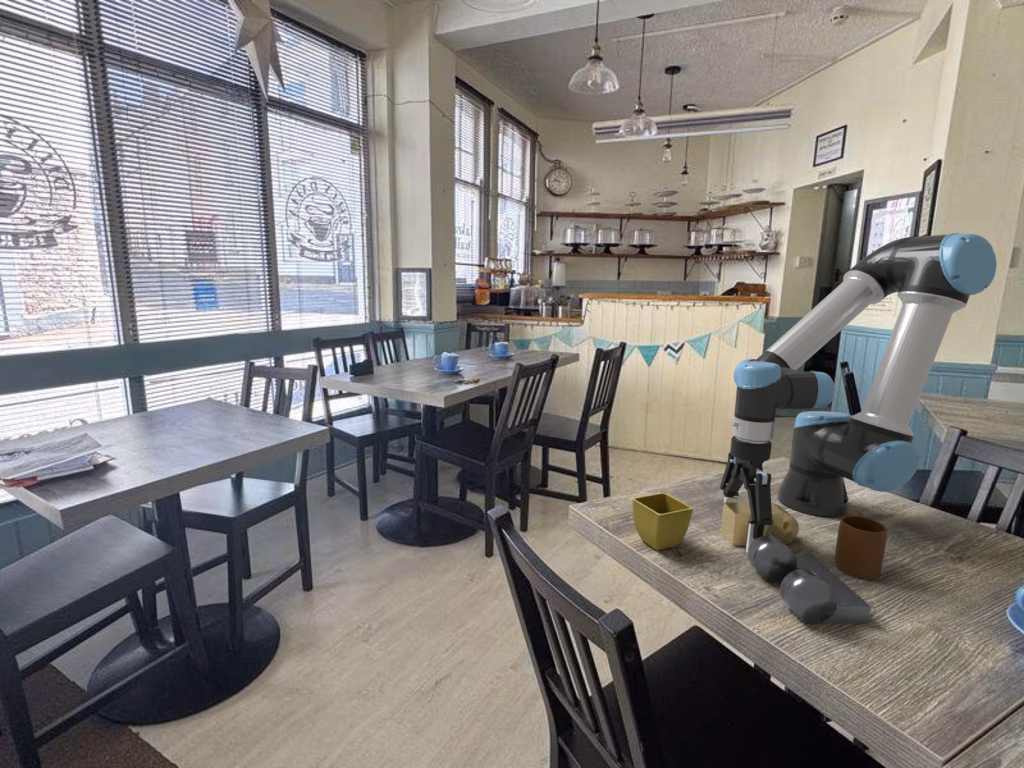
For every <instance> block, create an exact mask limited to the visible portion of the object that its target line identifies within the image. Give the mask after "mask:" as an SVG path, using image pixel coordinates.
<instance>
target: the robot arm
mask: <svg viewBox="0 0 1024 768" xmlns="http://www.w3.org/2000/svg"><path fill="white" fill-rule="evenodd" d="M993 248H994V247H993V246H992V245H991V243H990V242H989V241H988V240H987V238H985V237H983V236H981V235H979V234H975V233H958V232H954V233H949V234H939V235H938V234H937V235H926V236H925V235H924V236H922V235H921V236H906V237H902V238H899V239H898V238H897V239H895V240H892V241H890V242H888V243H886V244H883V245H882V246H880V247H879V248H877V249H875V250H873V251H872V252H871V253H869V254H868V255H866V256H865V257H864V258H862V259H861V260H860V261H858V262H857V263H855V264H854V266H853V267H851V268H849V270H848V271H847V272H846V273H845V274H844V275H843V278H842V282H841V283H840V284H839V285H838V286H836V288H835V289H833V290H832V291H831V292H830V293H829V294H828V295H826V297H825V298H823V299H822V300H821V301H820V302H819V303H818V304H817V305H816V306H814V307H813V308H812V309H811V310H810V311H809V312H808V313H807V314H805V315H804V316H803V317H802V318H801V319H800V320H799V321H797V323H795V324H794V325H793V326H792V327H791V328H789V330H788V331H786V332H785V333H784V334H783V335H782V336H780V338H779V339H778V340H776V341H775V342H774V343H773V344H772V345H770V347H768V348H766V350H765V351H764V352H763V353H762V354H761V355H759V356H758V357H757V358H747V359H744V360H742V361H740V362H739V363H738V364H737V365H736V367H735V368H734V370H733V381H734V383H735V386H736V393H735V403H734V414H733V421H732V422H731V426H732V431H731V433H732V435H733V436H732V437H731V441H730V450H729V452H728V454H727V455H728V457H727V462H726V466H725V469H724V472H723V476H722V479H721V482H720V485H719V488H720V490H721V491H722V493H723V496H724V498H723V503H724V502H727V503H739V498H738V497H740V494H739V491H740V489H741V488H742V487H744V490H746V491H747V497H748V503H749V504H750V510H751V516H752V520H751V521H749V529H748V538H747V546H745V547H746V549H745V552H746V553H747V554H748V549H749V546H750V545H751V543H752V542H753V541H754V540H756V539H757V538H759V537H761V536H763V533H764V526H765V525H772V506H771V503H772V493H771V483H772V473H765V472H764V470H763V463H766V461H769V460H770V458H771V454H772V451H771V450H772V446H773V443H772V442H771V441H772V440H773V439H774V430H775V422H776V414H777V410H808V411H802V412H800V413H798V414H797V416H796V418H795V422H794V426H793V432H792V440H791V441H792V442H791V448H790V449H791V450H790V458H789V468H788V470H787V472H786V473H785V476H784V478H783V480H782V482H781V484H780V485H779V487H778V490H777V500H778V501H779V502H780V503H781V504H782V505H783V506H786V507H788V508H789V509H792V510H794V511H798V512H801V513H804V514H808V515H813V516H819V517H839V516H840V517H841V516H845V515H846V514H847V513H848V512H849V505H850V504H849V503H850V501H849V496H848V493H847V488H846V483H845V479H848V480H849V481H852V482H854V483H855V484H857V485H858V486H861V487H865V488H868V489H870V490H872V491H876V492H882V493H883V492H892V491H895V490H897V489H898V488H900V487H903V486H904V485H906V484H907V483H908V482H909V481H910V480H911V479H912V477H913V476H914V475H915V474H916V472H917V470H918V466H919V463H920V457H919V456H918V455H919V453H918V451H919V450H917V448H916V447H915V446H914V445H913V444H912V441H913V439H914V436H915V433H914V432H913V430H912V428H911V427H910V423H911V420H912V417H913V416H914V415H913V414H914V413H915V411H916V408H917V405H918V403H919V400H920V397H921V395H922V392H923V389H924V388H925V384H926V382H927V380H928V377H929V374H930V372H931V369H932V367H933V364H934V362H935V359H936V357H937V354H938V351H939V349H940V346H941V343H942V341H943V340H944V336H945V334H946V331H947V329H948V328H949V324H950V321H951V318H952V316H953V315H954V313H955V312H958V311H960V310H962V309H964V308H966V306H967V304H968V301H969V299H970V297H971V296H974V295H977V294H979V293H982V292H983V291H985V289H988V288H989V287H990V286H991V284H992V282H993V280H994V278H995V276H996V273H997V264H998V263H997V257H996V253H995V251H994V249H993ZM894 293H895V294H896V293H897V295H896V296H897V297H898V299H899V300H900V301H901V304H902V305H901V308H900V311H899V312H898V313H899V314H898V315H897V319H896V322H895V323H894V326H893V329H892V331H891V334H890V336H889V340H888V342H887V344H886V347H885V350H884V352H883V355H882V358H881V360H880V363H879V365H878V368H877V371H876V373H875V376H874V379H873V381H872V383H871V386H870V389H869V391H868V394H867V396H866V400H865V402H864V405H863V408H862V410H861V411H860V412H858V413H855V414H853V415H851V414H849V413H845V412H836V411H827V410H826V411H825V410H814V409H822V408H826V407H828V406H829V405H830V404H831V403H832V401H833V399H834V398H835V391H836V387H835V383H834V380H833V379H832V377H831V376H830V375H829V374H828V373H826V372H822V371H814V370H810V371H802V370H798V369H799V368H800V367H802V365H804V364H805V363H806V362H807V361H808V360H809V359H810V358H811V357H813V355H815V354H816V353H817V352H818V351H819V350H820V349H822V348H823V347H824V346H825V345H826V344H827V343H829V342H830V341H831V340H832V339H833V338H834V337H835V336H836V335H837V334H838V333H840V331H842V330H843V329H844V328H845V327H846V326H848V325H849V324H850V323H851V322H852V321H853V320H854V319H855V318H856V317H858V316H859V315H860V314H861V313H862V312H863V311H864V310H865V309H867V308H868V307H869V306H870V305H876V304H879V303H881V301H883V300H884V299H885V298H886V297H888V296H890V295H892V294H894ZM809 410H810V411H809ZM811 410H812V411H811ZM723 508H724V506H723ZM721 517H723V515H722V516H721Z"/></svg>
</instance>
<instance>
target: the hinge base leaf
mask: <svg viewBox="0 0 1024 768" xmlns="http://www.w3.org/2000/svg"><path fill="white" fill-rule="evenodd" d="M747 560H748V562H749V564H751V566H752V567H753V568H754V569H755V570H756V571H757V573H758V574H759V575H760V576H761V577H762V578H763V579H764V580H765V581H768V582H769V583H773V584H774V583H778V584H779V583H780V586H779V594H780V597H781V600H782V601H784V603H785V604H786V605H787V607H789V609H791V611H792V612H793V613H794V615H795V616H796V617H797V618H799V620H801V621H802V622H804V623H807V624H811V625H812V624H813V625H814V624H869V623H870V622H869V621H870V614H871V608H872V606H871V605H870V604H869V602H867V601H866V600H864V599H863V598H862V597H861V596H860V595H859V594H857V593H856V592H855V591H854V590H853V589H852V588H851V587H850V586H848V585H847V584H846V583H845V582H844V581H843V580H842V579H840V578H839V577H838V576H837V575H836V574H834V573H835V572H832V571H831V569H829V568H828V567H827V566H826V565H825V564H823V563H822V562H821V561H820V560H819V559H818V558H817V557H815V556H814V555H813V554H795V552H793V550H792V549H790V548H789V547H788V546H787V544H786V545H785V544H784V543H783V542H782V541H781V540H779V539H778V538H777V537H774V536H771V535H766V536H761V537H759V538H757V539H756V540H754V541H753V542H752V543H751V545H750V546H749V549H748V553H747Z"/></svg>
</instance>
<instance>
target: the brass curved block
mask: <svg viewBox="0 0 1024 768" xmlns="http://www.w3.org/2000/svg"><path fill="white" fill-rule="evenodd" d="M771 506H772V525H765V526H764V533H763V536H766V535H771V536H774V537H777V538H778V539H779V540H781V541H782V542H783V543H784V544H785V545H786V546H787V545H788V544H790V543H792V542H794V540H795V539H796V537H797V536H798V533H799V531H800V530H799V529H800V528H799V523H798V521H797V519H796V518H795V517H794V516H792V515H791V514H790V512H788V511H786V509H785V508H783V507H782V506H780V505H779V504H777V503H775V502H771ZM723 507H724V508H723V509H722V516H723V517H722V516H721V517H722V519H721V529H720V534H721V535H722V536H723V537H724V538H725V540H727V542H728V543H729V544H730V545H731V546H734V547H735V546H736V547H740V546H745V547H746V546H747V538H748V529H749V521H751V520H752V516H751V510H750V504H749V502H738V503H727V502H724V501H723Z"/></svg>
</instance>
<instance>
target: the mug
mask: <svg viewBox="0 0 1024 768" xmlns="http://www.w3.org/2000/svg"><path fill="white" fill-rule="evenodd" d="M887 540H888V528H887V526H886V524H885V525H884V523H882V522H880V521H877V520H875V519H872V518H871V517H865V516H864V514H863V513H862V512H860V511H854V512H853V513H852V515H843V516H842V517H841V519H840V522H839V525H838V530H837V538H836V544H835V550H834V551H835V552H834V557H833V559H834V560H833V562H834V564H835V567H836V568H837V569H838V570H839V571H841V572H842V573H844V574H847V575H849V576H851V577H855V578H858V579H864V580H874V579H876V578H879V576H880V575H881V573H882V568H883V563H884V558H885V552H886V545H887Z"/></svg>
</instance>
